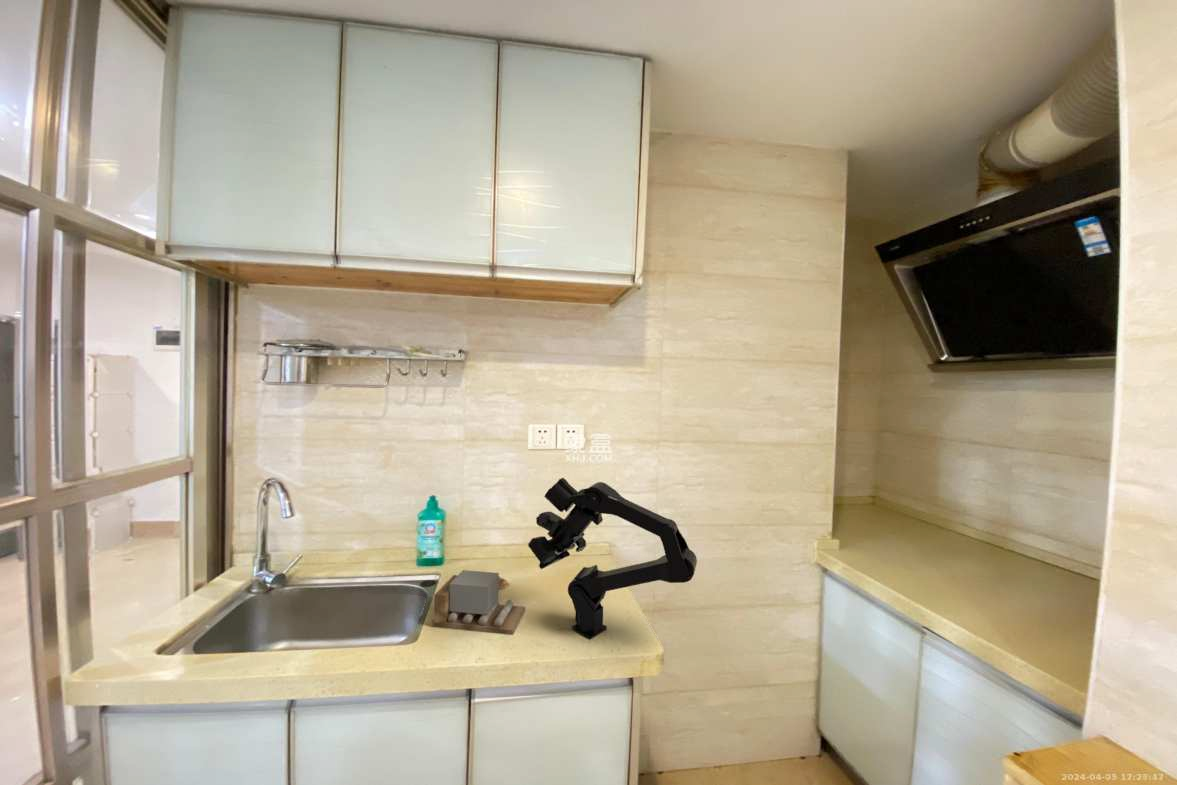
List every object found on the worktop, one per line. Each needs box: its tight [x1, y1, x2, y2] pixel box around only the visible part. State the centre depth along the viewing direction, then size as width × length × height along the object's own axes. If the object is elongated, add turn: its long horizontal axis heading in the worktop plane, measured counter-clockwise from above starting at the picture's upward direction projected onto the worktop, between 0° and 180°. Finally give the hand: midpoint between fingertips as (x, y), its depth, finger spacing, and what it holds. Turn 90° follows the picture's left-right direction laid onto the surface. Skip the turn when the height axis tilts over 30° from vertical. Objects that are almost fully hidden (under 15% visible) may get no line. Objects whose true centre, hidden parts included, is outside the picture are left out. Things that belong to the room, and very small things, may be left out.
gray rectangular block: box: [449, 569, 500, 615], centre depth 114 cm, size 10×8×7 cm
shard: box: [499, 576, 511, 591], centre depth 130 cm, size 11×8×2 cm
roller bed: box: [430, 574, 526, 636], centre depth 114 cm, size 21×11×8 cm, turn 82°
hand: (540, 567), depth 114 cm, fingers closed
